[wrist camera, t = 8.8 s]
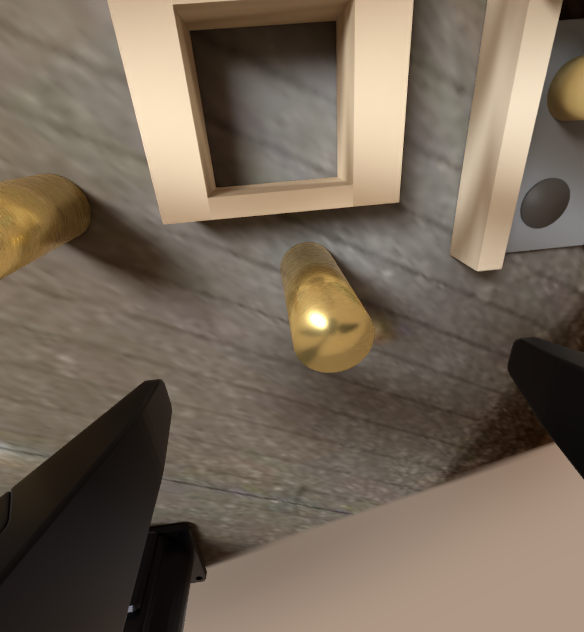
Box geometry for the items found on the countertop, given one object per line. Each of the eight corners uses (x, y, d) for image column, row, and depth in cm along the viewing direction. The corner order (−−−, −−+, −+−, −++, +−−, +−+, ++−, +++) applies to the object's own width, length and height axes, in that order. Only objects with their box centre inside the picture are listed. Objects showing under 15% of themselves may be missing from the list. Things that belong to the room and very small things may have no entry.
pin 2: (334, 290, 16) (373, 367, 11) (282, 295, 16) (295, 376, 10) (333, 239, 15) (376, 297, 9) (277, 245, 15) (289, 306, 9)
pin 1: (100, 235, 14) (1, 297, 8) (38, 241, 14) (-100, 307, 8) (77, 170, 13) (-52, 196, 7) (10, 176, 13) (-170, 206, 7)
